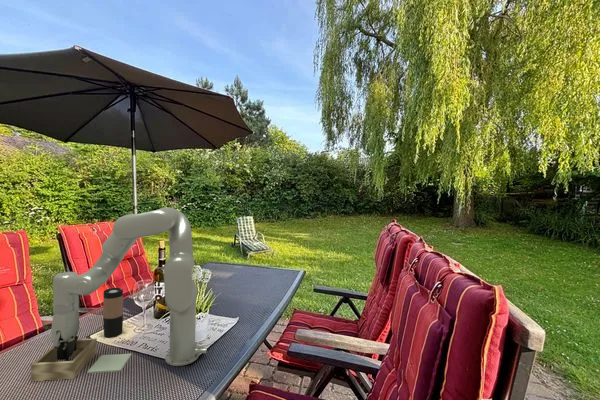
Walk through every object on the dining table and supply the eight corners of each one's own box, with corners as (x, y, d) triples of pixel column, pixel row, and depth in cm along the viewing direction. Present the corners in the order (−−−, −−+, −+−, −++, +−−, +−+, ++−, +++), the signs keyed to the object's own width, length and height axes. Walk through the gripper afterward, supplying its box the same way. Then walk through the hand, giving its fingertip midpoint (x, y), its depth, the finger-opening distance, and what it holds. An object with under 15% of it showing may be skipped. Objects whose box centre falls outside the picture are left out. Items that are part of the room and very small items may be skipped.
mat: (131, 355, 125) (131, 353, 125) (120, 371, 114) (120, 369, 114) (101, 356, 123) (101, 355, 123) (87, 373, 113) (87, 371, 113)
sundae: (74, 359, 121) (74, 320, 121) (80, 365, 117) (80, 326, 116) (53, 366, 116) (53, 326, 115) (58, 373, 112) (58, 332, 111)
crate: (96, 353, 126) (96, 338, 126) (73, 379, 109) (73, 362, 109) (60, 355, 124) (60, 340, 123) (31, 382, 107) (31, 364, 107)
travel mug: (100, 339, 137) (100, 293, 136) (106, 331, 144) (106, 288, 143) (120, 337, 139) (120, 292, 138) (125, 329, 146) (125, 287, 145)
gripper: (68, 298, 123) (68, 344, 124) (39, 316, 106) (40, 369, 107) (89, 297, 124) (89, 342, 125) (64, 315, 108) (65, 367, 108)
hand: (67, 354), depth 116 cm, fingers closed on sundae, 5 cm apart
